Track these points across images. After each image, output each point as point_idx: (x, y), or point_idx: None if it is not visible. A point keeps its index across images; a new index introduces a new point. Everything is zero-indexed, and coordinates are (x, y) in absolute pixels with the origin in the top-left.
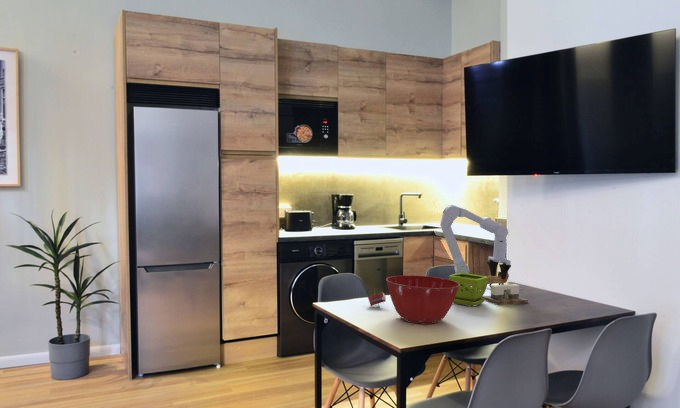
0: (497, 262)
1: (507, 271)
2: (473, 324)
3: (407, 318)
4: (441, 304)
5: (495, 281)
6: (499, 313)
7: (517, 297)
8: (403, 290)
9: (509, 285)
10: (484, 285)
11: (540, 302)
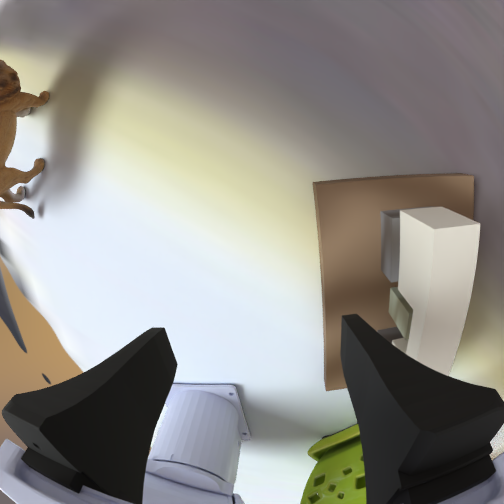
0: (63, 438)
1: (412, 366)
2: (496, 439)
3: None
4: None
5: (9, 147)
6: (498, 385)
7: None
8: None
9: (455, 318)
10: None
11: (448, 76)
